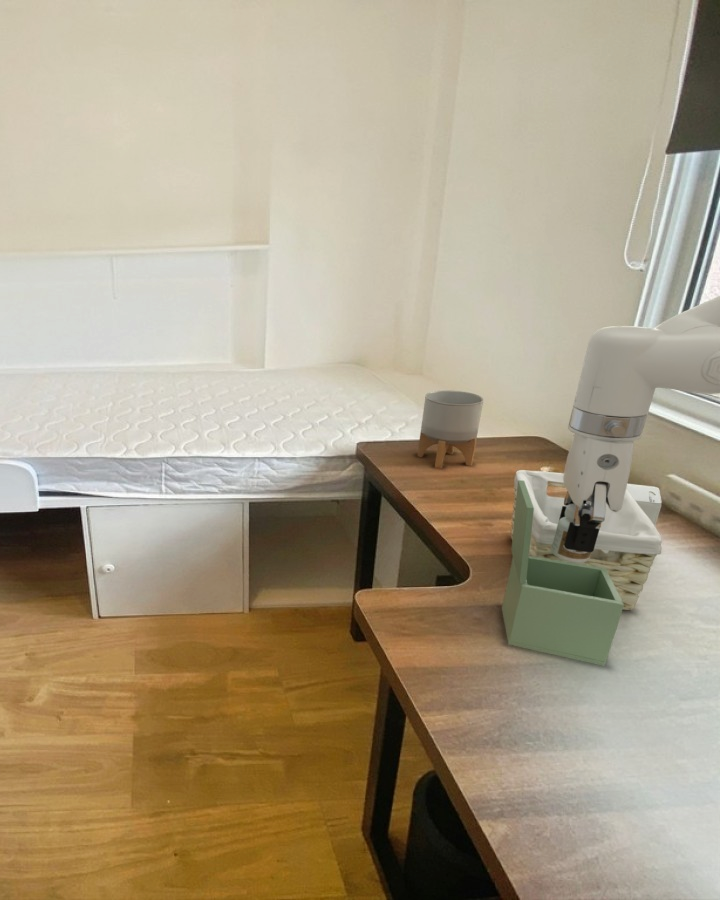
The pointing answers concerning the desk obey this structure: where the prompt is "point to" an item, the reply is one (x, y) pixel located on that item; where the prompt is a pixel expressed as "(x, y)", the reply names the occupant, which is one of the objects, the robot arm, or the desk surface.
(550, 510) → the basket
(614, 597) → the chest
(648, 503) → the ink box
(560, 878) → the desk surface
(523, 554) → the lid
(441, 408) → the planter
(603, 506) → the robot arm
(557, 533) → the pill bottle
